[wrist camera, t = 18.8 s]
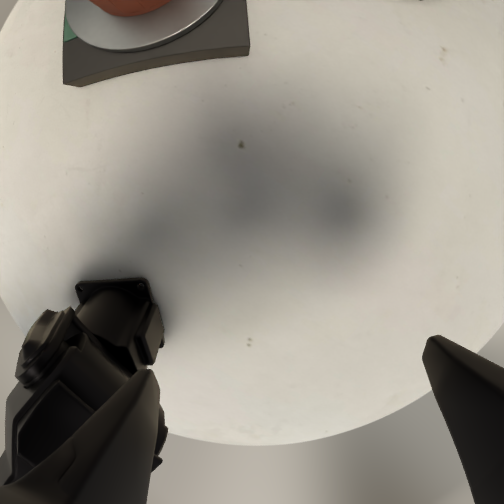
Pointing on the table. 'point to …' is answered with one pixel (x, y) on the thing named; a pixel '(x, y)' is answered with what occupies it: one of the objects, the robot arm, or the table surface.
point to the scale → (160, 48)
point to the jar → (129, 6)
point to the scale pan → (136, 24)
